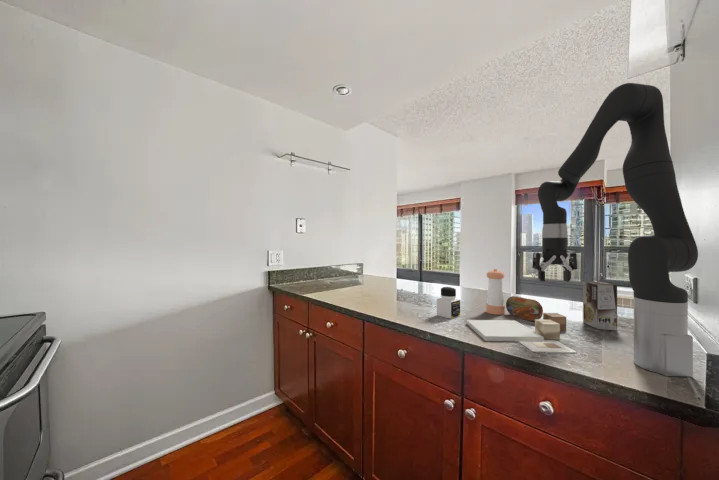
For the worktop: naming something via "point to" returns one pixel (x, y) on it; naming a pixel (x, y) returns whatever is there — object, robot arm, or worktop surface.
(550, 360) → the worktop surface
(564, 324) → the walnut block
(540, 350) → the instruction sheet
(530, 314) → the tin
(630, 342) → the worktop surface
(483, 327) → the base plate
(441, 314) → the medicine bottle
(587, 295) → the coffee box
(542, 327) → the birch block
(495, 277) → the pepper shaker
